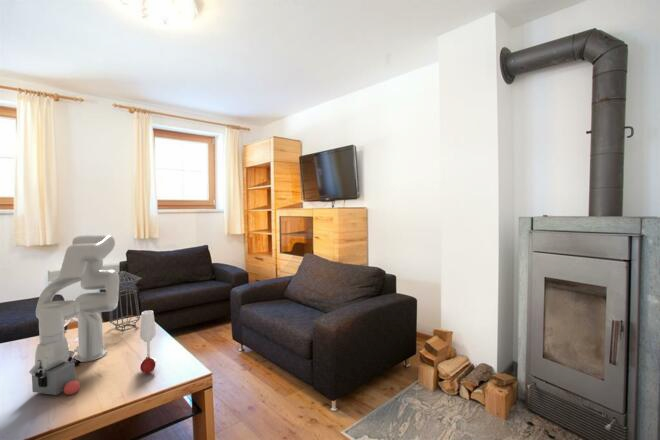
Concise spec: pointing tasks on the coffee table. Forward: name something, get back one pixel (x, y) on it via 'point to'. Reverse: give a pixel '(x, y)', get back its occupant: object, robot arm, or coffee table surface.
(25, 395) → the coffee table surface
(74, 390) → the ball
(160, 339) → the coffee table surface
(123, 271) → the geometric lantern
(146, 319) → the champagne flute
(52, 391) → the grey rectangular box
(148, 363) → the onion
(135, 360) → the coffee table surface
